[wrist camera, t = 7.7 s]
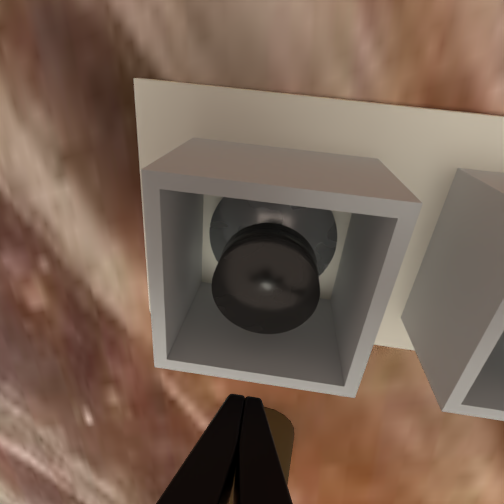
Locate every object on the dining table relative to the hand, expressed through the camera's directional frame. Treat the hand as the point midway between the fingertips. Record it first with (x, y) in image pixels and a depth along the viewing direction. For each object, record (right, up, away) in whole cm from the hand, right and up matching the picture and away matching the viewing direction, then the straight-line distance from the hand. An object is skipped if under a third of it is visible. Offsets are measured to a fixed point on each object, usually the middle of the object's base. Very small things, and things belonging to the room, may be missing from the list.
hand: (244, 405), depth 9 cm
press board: (+8, +5, +11) cm, 14 cm away
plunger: (+1, +5, +10) cm, 11 cm away
